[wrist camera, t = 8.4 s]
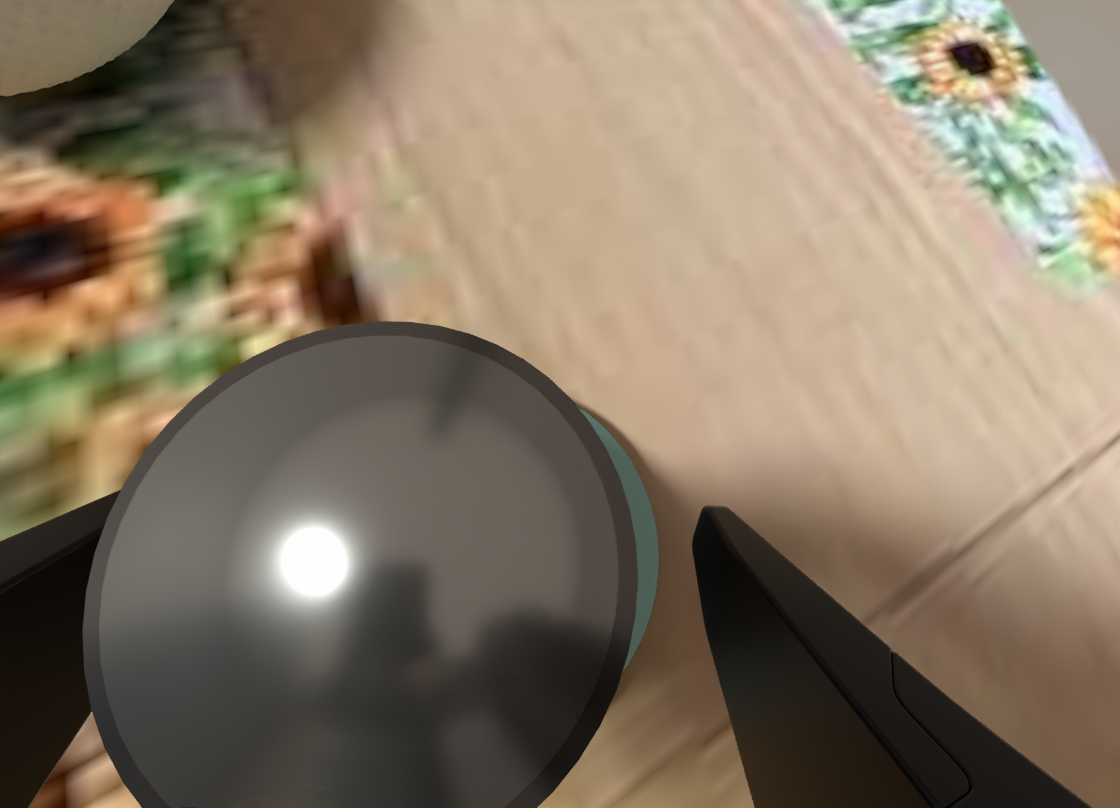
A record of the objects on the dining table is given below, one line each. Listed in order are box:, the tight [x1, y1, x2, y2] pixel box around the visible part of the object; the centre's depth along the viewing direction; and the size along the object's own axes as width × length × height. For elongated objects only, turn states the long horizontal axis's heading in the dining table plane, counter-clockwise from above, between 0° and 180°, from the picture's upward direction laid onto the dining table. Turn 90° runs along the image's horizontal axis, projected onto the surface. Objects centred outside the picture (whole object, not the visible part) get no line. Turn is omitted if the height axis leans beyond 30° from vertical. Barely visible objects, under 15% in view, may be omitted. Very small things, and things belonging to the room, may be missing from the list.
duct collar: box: [578, 407, 659, 673], centre depth 16 cm, size 12×12×3 cm
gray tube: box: [83, 321, 638, 808], centre depth 11 cm, size 5×5×13 cm
